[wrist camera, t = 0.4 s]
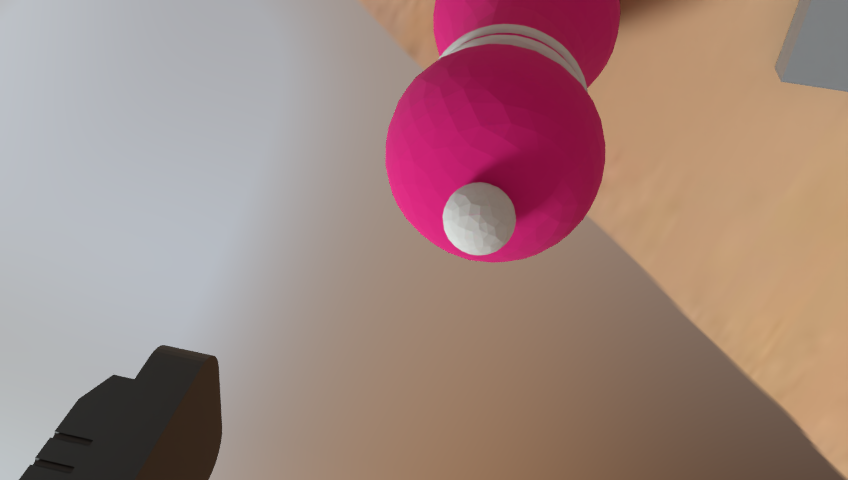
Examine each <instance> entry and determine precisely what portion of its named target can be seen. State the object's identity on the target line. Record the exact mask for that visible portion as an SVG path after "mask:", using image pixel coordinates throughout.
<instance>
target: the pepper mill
mask: <svg viewBox="0 0 848 480" xmlns="http://www.w3.org/2000/svg"><path fill="white" fill-rule="evenodd" d="M433 16H434V35H435V39H436V44H437V48H438V52H439V55H440V57H439V59H438V60H437V61H436V62H435V63H433V64H432V65H431V66H430V67H428V68H427V69H426V70H424V71H423V72H422V73H421V74H419V75H418V76H417V77H416V78H415V79H414V80H413V82H412V83H411V84H410V85H409V87H408V88H407V89H406V91H405V93H404V94H403V95H402V97H401V99H400V100H399V102H398V105H397V107H396V110H395V112H394V115H393V117H392V120H391V123H390V125H389V129H388V134H387V140H386V169H387V174H388V178H389V183H390V186H391V190H392V193H393V196H394V198H395V200H396V202H397V205H398V206H399V208H400V209H401V211H402V212H403V214H404V216H405V217H406V219H407V220H408V221H409V222H410V223H411V224H412V225H413V226H414V227H415V228H416V229H417V230H418V231H419V232H420V233H421V234H422V235H423V236H424V237H426V238H427V239H428V240H430V241H431V242H432V243H434V244H435V245H437V246H438V247H440V248H442V249H443V250H445V251H447V252H448V253H451V254H454V255H457V256H460V257H462V258H465V259H468V260H475V261H484V262H505V261H513V260H519V259H524V258H527V257H530V256H533V255H536V254H538V253H540V252H542V251H544V250H546V249H548V248H549V247H552V246H553V245H555V244H557V243H558V242H560V241H561V240H562V239H563V238H565V237H566V236H567V235H568V234H570V233H571V231H572V230H573V229H574V228H575V227H576V226H577V225H578V224H579V223H580V222H581V221H582V220H583V218H584V217H585V215H586V214H587V212H588V211H589V209H590V207H591V205H592V203H593V201H594V199H595V197H596V195H597V192H598V189H599V187H600V184H601V181H602V176H603V170H604V164H605V141H604V135H603V129H602V124H601V119H600V117H599V114H598V112H597V110H596V107H595V105H594V102H593V100H592V99H591V97H590V96H589V95H588V92H587V88H588V87H589V86H590V85H591V84H592V82H593V81H594V80H595V79H596V78H597V77H598V76H599V74H600V73H601V71H602V70H603V69H604V67H605V66H606V64H607V62H608V60H609V58H610V56H611V54H612V52H613V48H614V45H615V42H616V38H617V34H618V28H619V20H620V0H436V2H435V8H434V15H433Z"/></svg>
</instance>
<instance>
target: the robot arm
mask: <svg viewBox="0 0 848 480" xmlns="http://www.w3.org/2000/svg"><path fill="white" fill-rule="evenodd" d="M221 437H222V419H221V400H220V383H219V366H218V361H217V358H216V357H215V356H212V355H207V354H202V353H198V352H193V351H188V350H184V349H179V348H175V347H170V346H165V345H162V346H160V347H158V348H157V349H156V350H155V351H154V352H153V353H152V354H151V356H150V357H149V359H148V360H147V362H146V363H145V365H144V366H143V367H142V369H141V370H140V372H139V373H138V375H137V376H136V378H135V379H130V378H126V377H121V376H117V375H113V376H111V377H110V378H108V379H107V380H105V381H104V382H103V383H101V384H100V385H98V386H97V387H95V388H94V389H93V390H91V391H90V392H88V393H87V394H85V395H84V396H82V397H81V398H80V399H78V401H77V402H76V403H75V405H74V406H73V408H72V409H71V410H70V412H69V413H68V414H67V416H66V417H65V418H64V420H63V421H62V422H61V424H60V425H59V426H58V428H57V429H56V430H55V435H54V437H53V438H50V439H49V440H48V441H47V443H46V444H45V445H44V447H43V448H42V449H41V451H40V452H39V453H38V455H37V456H36V458H35V462H34V464H33V465H30V466H29V467H28V468H27V470H26V471H25V472H24V474H23V475H22V476H21V478H20V479H19V480H208V479H209V477H210V475H211V473H212V471H213V468H214V466H215V463H216V460H217V456H218V453H219V448H220V444H221Z"/></svg>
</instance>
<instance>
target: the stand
mask: <svg viewBox="0 0 848 480" xmlns="http://www.w3.org/2000/svg"><path fill="white" fill-rule="evenodd" d="M775 70H776V72H777V74H778V76H779V78H780V80H781V82H787V83H794V84H800V85H807V86H813V87H820V88H826V89H833V90H839V91H846V92H848V0H799V3H798V6H797V9H796V11H795V14H794V17H793V20H792V22H791V25H790V28H789V31H788V33H787V36H786V39H785V41H784V44H783V47H782V50H781V52H780V55H779V58H778V61H777V63H776V66H775Z"/></svg>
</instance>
